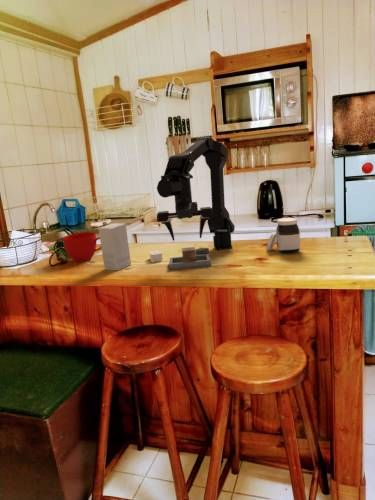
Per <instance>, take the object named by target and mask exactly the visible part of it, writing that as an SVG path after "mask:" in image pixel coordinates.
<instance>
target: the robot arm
mask: <svg viewBox="0 0 375 500" xmlns="http://www.w3.org/2000/svg"><path fill="white" fill-rule="evenodd" d="M228 154H229V152H228V148H227V147H226V145H224V144H223V143H222V142H220V141H217V140H214V139H213V138H212V137H210V136H207V137H201V138H198V139H197V141H196V142H194V143H193V144H191V145H190V146H189V147H188V148H186V149H185V151H182V152H179V153H175V154H173V155H171V156H169V158H168V159H167V162H166V163H167V164H166V167H165V171H164V173H163V175H161V176H160V179H161V180H159V181H158V183H157V186H156V190H157V193H158V195H159V196H160V197H162V198H164V199H165V198H170V197H173V196H174V204H175V205H174V206H175V207H174V209H175V212H169V210H162V211H158V212H157V213H156V222H157V223H161V225H164V226H165V227H166V228H167V230H168V232H169V234H170V237H171V239H172V241H175V235H174V229H173V225H172V222H171V219H175V218H176V219H179V220H182V219H192V218H193V217H198V216H199V239H201V238H202V236H203V232H204V229H205V228H204V227H205V224H206V222H207V225H208V226H207V227H208V231H209V232H210V234H214V235H213V236H212V237H213V238H212V242H213V247H214V248H215V250H225V249H226V250H227V249H233V245H232V233H234V232H235V228H236V227H235V224H234V223H233V221H232V220H231V218H230V217H231V216H230V212H229V211H228V209H227V208H226V205H225V202H226V201H225V187H224V186H225V183H224V181H225V180H224V167H226V164H227V162H228ZM201 156H202V157H204V161H205V163H206V164H205V165H206V166H207V167H208V168H209V172H210V191H211V192H210V193H211V207H210V206H205V207H199V208H198V202H197V201H193V198H192V196H193V195H192V186H191V179H193V178H194V176H193V175H192V174H191V173H190V172H191V171H192V170H193V168H194V167H195V162H196V161H197V160H198V159H199V158H200V157H201Z"/></svg>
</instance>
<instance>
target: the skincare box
mask: <svg viewBox="0 0 375 500" xmlns="http://www.w3.org/2000/svg"><path fill="white" fill-rule="evenodd" d="M98 234H99V237H100V239H99V241H100V247H101V248H102V249H101V254H102V259H103V267H104V270H105V271H106V270H107V271H115V270H118V271H120V270H122V269H125V268H127V267H129V266H130V264H131V265H132V260H131V254H130V246H129V237H128V231H127V223H125V222H122V223H121V222H120V223H119V222H117V223H115V222H114V223H110V224H107V225H104V226H101V227H98Z"/></svg>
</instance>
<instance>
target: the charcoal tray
mask: <svg viewBox="0 0 375 500" xmlns="http://www.w3.org/2000/svg"><path fill="white" fill-rule="evenodd" d="M209 256H210V253H209V254H204V255H196V261H192V262H183V256H175V257H174V256H173V257H169V259H168V261H169V263H168V265H169V271H175V270H185V269H196V268H204V267H212V263H211V261H212V260H211V257H209Z"/></svg>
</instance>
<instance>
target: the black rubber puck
mask: <svg viewBox="0 0 375 500" xmlns="http://www.w3.org/2000/svg"><path fill="white" fill-rule="evenodd" d="M195 252H196V255H204V254H209V257H210V248H208V247H200V248H199V247H198V248H195ZM210 258H211V257H210Z"/></svg>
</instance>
